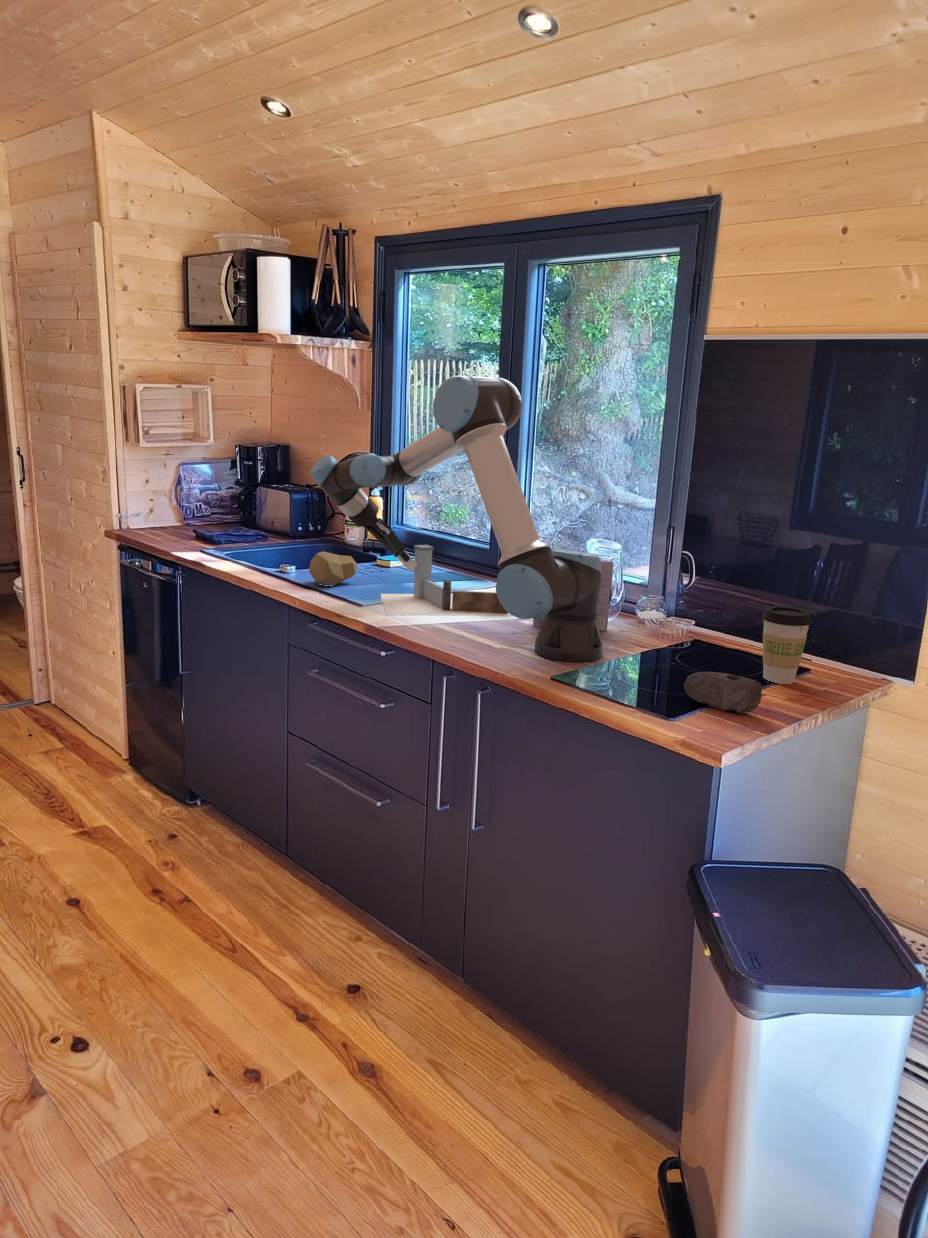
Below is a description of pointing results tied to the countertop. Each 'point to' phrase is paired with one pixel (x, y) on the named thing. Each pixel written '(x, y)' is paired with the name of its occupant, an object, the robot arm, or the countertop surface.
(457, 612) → the board
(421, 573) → the grey wall with post
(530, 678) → the countertop surface
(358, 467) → the robot arm
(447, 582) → the fixed fence rail
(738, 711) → the perforated stone tool
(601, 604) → the cake pan box
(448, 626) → the countertop surface
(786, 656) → the coffee cup
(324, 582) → the low-poly potato
